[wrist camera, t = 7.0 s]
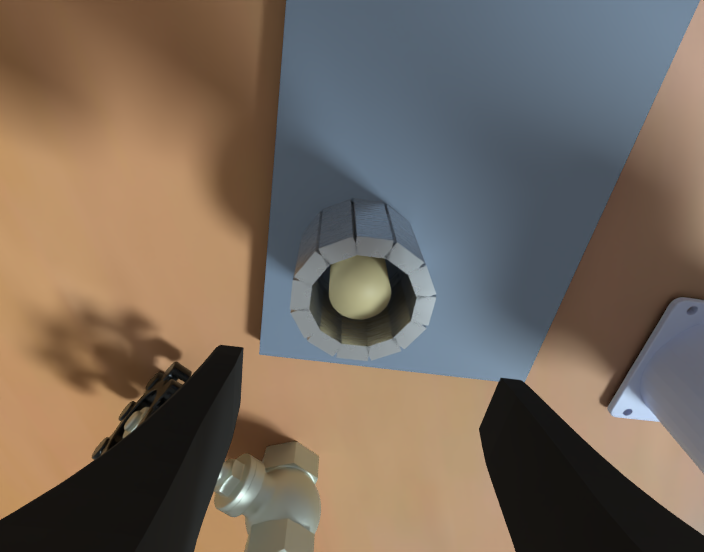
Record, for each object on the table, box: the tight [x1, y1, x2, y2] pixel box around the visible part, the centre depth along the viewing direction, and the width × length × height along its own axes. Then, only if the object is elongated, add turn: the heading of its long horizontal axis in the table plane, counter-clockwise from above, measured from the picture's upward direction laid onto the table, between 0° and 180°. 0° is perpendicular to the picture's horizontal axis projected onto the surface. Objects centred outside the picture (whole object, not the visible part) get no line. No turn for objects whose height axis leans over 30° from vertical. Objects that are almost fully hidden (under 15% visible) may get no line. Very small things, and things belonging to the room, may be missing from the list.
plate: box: [259, 0, 700, 382], centre depth 16 cm, size 14×24×4 cm, turn 171°
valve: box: [92, 362, 321, 552], centre depth 23 cm, size 7×7×12 cm
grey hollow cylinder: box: [290, 198, 436, 361], centre depth 17 cm, size 5×5×4 cm
